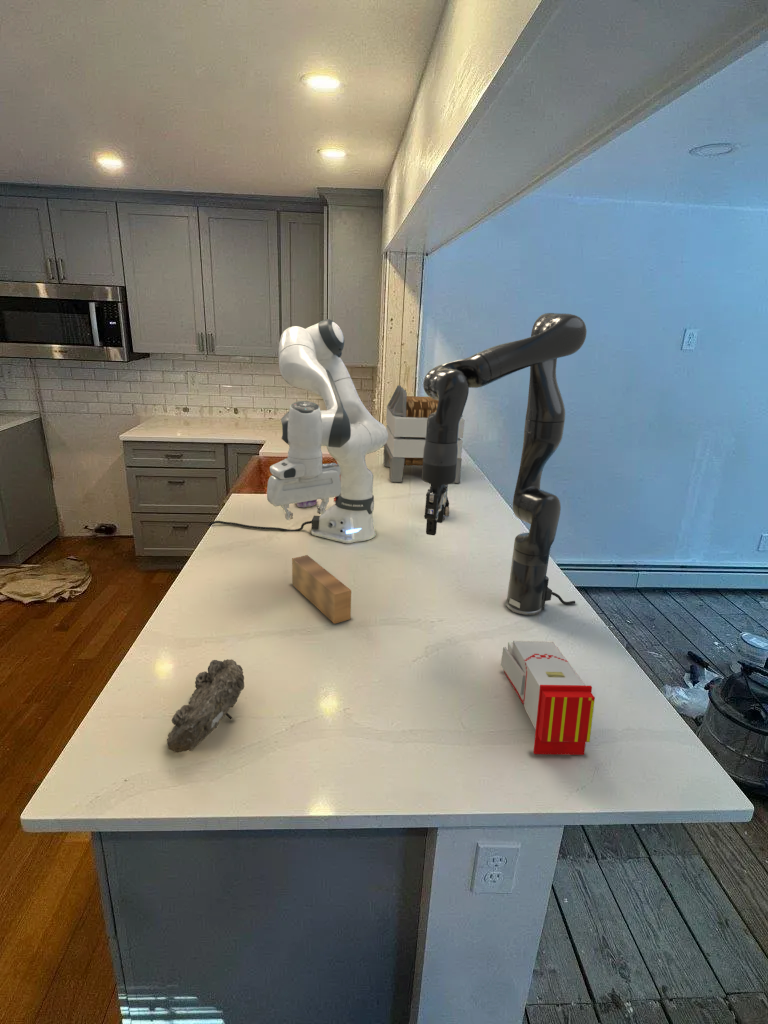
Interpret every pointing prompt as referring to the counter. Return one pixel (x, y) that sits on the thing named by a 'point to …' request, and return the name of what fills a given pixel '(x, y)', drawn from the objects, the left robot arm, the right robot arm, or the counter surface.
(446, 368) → the right robot arm
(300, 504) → the figurine
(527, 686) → the toy
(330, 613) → the bar
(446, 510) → the figurine character
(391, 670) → the counter surface
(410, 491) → the counter surface
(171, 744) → the fossil
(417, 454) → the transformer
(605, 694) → the counter surface
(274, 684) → the counter surface
